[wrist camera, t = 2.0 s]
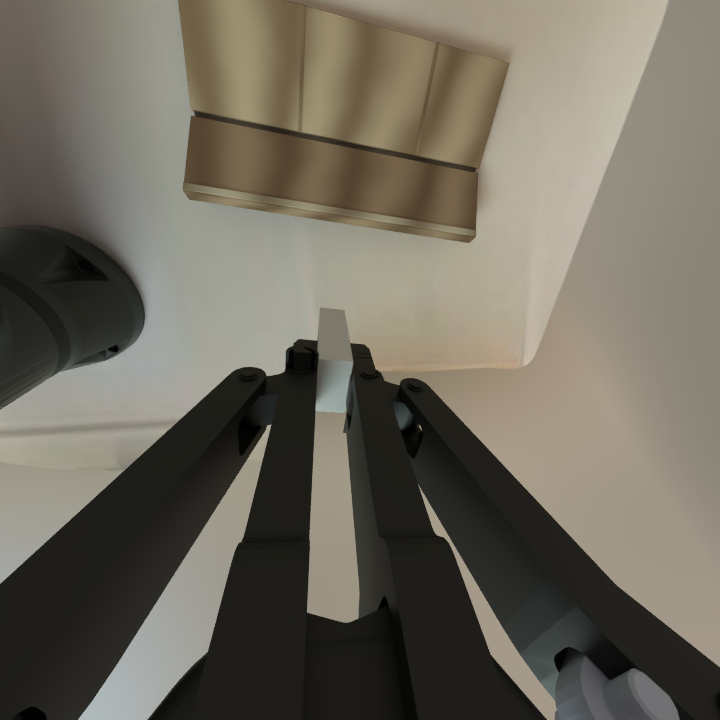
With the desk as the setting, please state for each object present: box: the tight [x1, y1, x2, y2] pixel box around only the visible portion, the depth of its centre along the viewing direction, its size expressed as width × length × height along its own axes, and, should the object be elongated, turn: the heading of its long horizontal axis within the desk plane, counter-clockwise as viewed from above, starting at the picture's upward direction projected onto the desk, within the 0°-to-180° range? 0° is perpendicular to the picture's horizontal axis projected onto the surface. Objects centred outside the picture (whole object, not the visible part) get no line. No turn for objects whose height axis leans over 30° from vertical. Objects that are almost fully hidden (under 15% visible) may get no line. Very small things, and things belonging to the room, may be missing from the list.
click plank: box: [183, 116, 478, 243], centre depth 27 cm, size 28×7×1 cm
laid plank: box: [178, 0, 509, 172], centre depth 25 cm, size 28×8×1 cm, turn 82°
